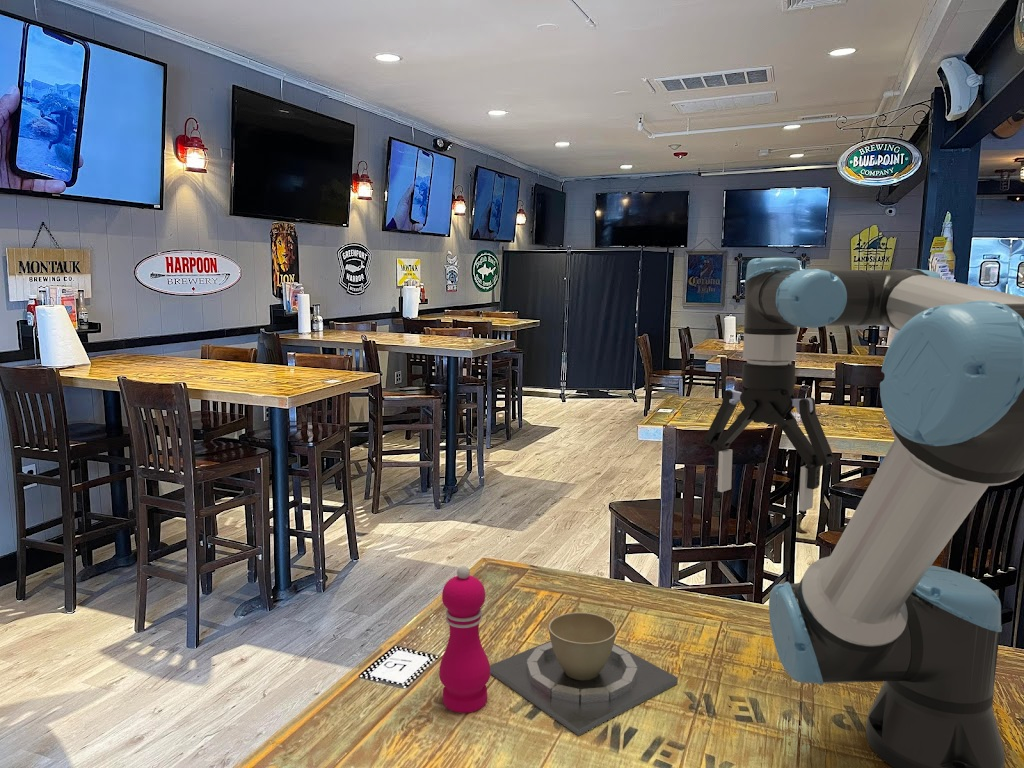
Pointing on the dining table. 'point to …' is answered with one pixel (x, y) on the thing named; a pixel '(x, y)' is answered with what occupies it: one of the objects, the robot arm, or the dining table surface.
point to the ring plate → (582, 685)
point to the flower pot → (582, 643)
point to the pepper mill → (464, 645)
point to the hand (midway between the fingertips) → (763, 499)
